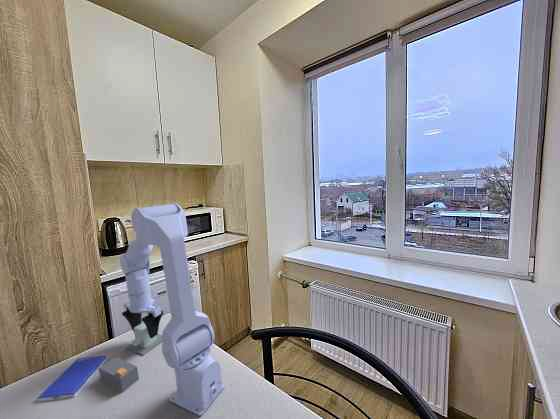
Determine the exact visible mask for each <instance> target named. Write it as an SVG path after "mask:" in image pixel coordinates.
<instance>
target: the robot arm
mask: <svg viewBox="0 0 560 419" xmlns="http://www.w3.org/2000/svg"><path fill="white" fill-rule="evenodd" d="M130 218H131V226H132V229H133V232H134V233H135V234H136V236H135V237H133V239H132V240H131V241H130V242H129V245H128V246H127V250H126V252H125V253H121V254H120V255H119V265H120V268H121V271H122V273H123V274H124V276H125V282H126V288H127V294H128V295H127V296H128V300H125V301H124V302H123V309H126V310H125V311H122V313H121V315H122V316H123V317H124V318H125V319H126V321H127V322H128V323H129V326H130V328H131V329H132V332H133V333H134V327H136V326H138V325H140V324H141V323H143V322H144V323H145V325H146V327H147V330H148V334H149V337H150V338H153V337H155V336H156V335H157V334H159V328H160V322H161V319H162V317H163V314H164V311H163V310H162V309H161V308H162V307H160V306H158V305H157V304H156V303H155V302H156V299H155V298H152V293H151V284H150V279H149V274H150V265H151V263H150V262H151V260H150V256H151V253H152V250H153V249H154V246H156V247H157V248H159V250H160V256H161V261H162V267H163V274H164V280H165V286H166V293H167V296H168V297H167V298H168V303H169V304H168V305H169V309H170V315H171V317H170V320H169V321H168V322H167V324H166V326H165V327H164V328H163V330H162V332H161V335H162V340H163V342H162V345H161V350H162V351H161V352H162V356H163V358H164V360H165V362H166V364H167V366H168V367H169V368H172V369H173V370H174V375H175V382H176V391H175V392H174V393H173V394H171V396H170V397H169V400H168V401H169V402H171V403H173V404H175V405H177V406H179V407H181V408H183V409H185V410H187V411H188V412H191V413H193V414H196V415H197V416H202V415H203V414H204V413H205V412H206V410H207V409H209V406H210V405H211V404H212V403H213V402H214V400H215V399H216V398H217V397H218V396H219V394H221V392H222V391H223V389H224V388H225V383H223V380H222V372H221V365H220V363H219V362H218V361H217V360H215V359H214V358H213V357H212V356H211V355H210V354H209V353H210V352H211V347H212V346H213V345H214V343H215V337H216V336H215V332H214V328H213V326H212V324H211V321H210V316H208V315H207V314H206V313H204V312H201V311H198V310H196V308H195V300H194V293H193V286H192V280H191V275H190V269H189V262H188V256H187V250H186V244H185V238H186V237H187V236H188V235H189V232H188V224H187V217H186V211H185V210H184V209H183V208H182V206H180V204H178V203H177V202H173V203H171V204H170V203H169V204H164V205H163V204H161V205H155V206H147V207H146V206H145V207H135V208H134V209H133V210H132V212H131V216H130ZM143 313H144V314H148V315H146V316H144V317H142V314H143Z"/></svg>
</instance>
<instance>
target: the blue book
mask: <svg viewBox="0 0 560 419" xmlns="http://www.w3.org/2000/svg"><path fill="white" fill-rule="evenodd" d="M108 359H109V358H108V355H107V354H105V355H97V356H89V357H88V356H87V357H81V358H77V359H76V360H75V361H74V362H72V363H71V364H70V365H69V367H68V368H67V369H66V370H65V371H63V372H62V373H61V374H60V375H59V376H58V377H57V379H55V380H54V381H53V382H52V383H51V384H50V385H49V386H48V387H47V388H46V389H45V390H44V391H43V392H42V393H41V394H40V395H39V396H38V397H37V398H36V400H37V402H46V401H54V400H61V399H68V398H69V399H70V398H75V397H76V396H77V395H78V394H79V393H80V392H81V390H82V389H83V388H84V387H85V385H86V384H87V383H88V382H89V381H90V379H92V378H93V377H94V375H95V374H96V373H97V371H99V367H101V366H102V365H104V364H105V363H106V361H107V360H108Z"/></svg>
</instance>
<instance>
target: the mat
mask: <svg viewBox="0 0 560 419" xmlns="http://www.w3.org/2000/svg"><path fill="white" fill-rule="evenodd" d="M156 337H157V340H156V341H154V342H153V343H151V344H150V345H149V346H147V347H146V348H143V347H141V346H138V345H137V346H134V345H132V343H130V344H129V345H126V346H125V349H126V350H129V351H131V352H133V353H136V354H138V355H141V356H145V355H146V354H148V353H149V352H150V351H152V350H153V349H155V347H157V346H159V345H161V343H163V340H162V334H159V333H158V334H157V335H156Z"/></svg>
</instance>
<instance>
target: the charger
mask: <svg viewBox="0 0 560 419" xmlns="http://www.w3.org/2000/svg"><path fill="white" fill-rule="evenodd" d="M133 333H134V338H135V339H133V340H132V341H131V344H132V345H134V346H137V345H138V346H141V347H143V348H146V347H147V346H149V345H150V344H151V343H153V342H154V341H156V340H157V337H156V336H155V337H153V338H150V337H149V334H148V330H147V327H146V325H145V323H144V322H143V321H142V323H141V324H140V325H138V326H136V327H134V332H133Z"/></svg>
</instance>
